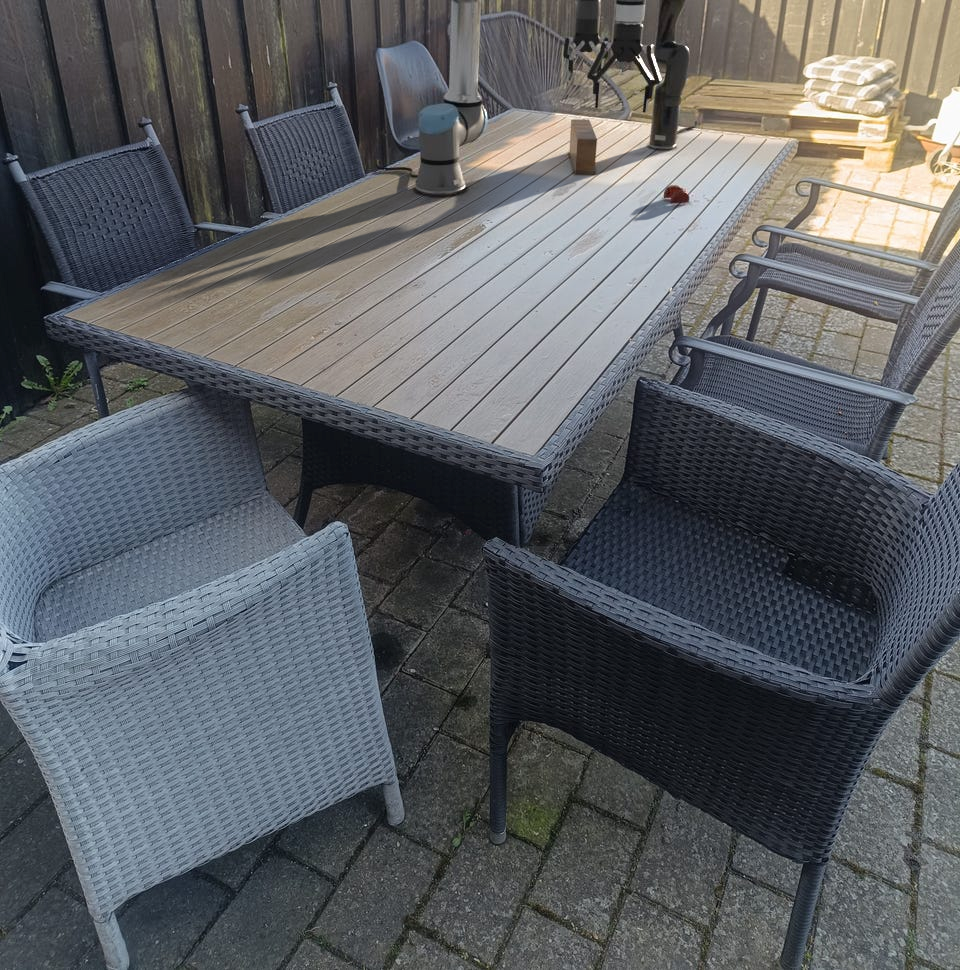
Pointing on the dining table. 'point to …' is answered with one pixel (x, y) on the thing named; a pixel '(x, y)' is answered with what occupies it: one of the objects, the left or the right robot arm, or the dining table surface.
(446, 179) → the left robot arm
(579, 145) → the box
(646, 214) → the dining table surface
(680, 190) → the dental model
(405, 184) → the dining table surface
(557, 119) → the dining table surface
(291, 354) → the dining table surface
